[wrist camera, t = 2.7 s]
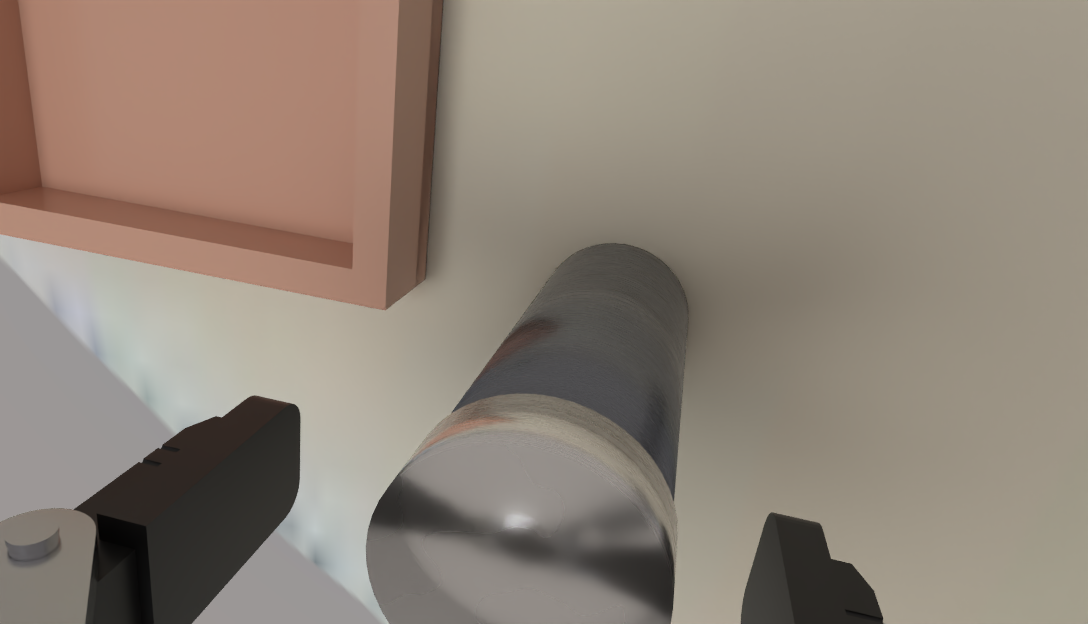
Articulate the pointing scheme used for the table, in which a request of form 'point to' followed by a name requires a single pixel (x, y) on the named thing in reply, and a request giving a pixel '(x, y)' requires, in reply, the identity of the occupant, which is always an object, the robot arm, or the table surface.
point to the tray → (226, 137)
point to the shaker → (550, 465)
